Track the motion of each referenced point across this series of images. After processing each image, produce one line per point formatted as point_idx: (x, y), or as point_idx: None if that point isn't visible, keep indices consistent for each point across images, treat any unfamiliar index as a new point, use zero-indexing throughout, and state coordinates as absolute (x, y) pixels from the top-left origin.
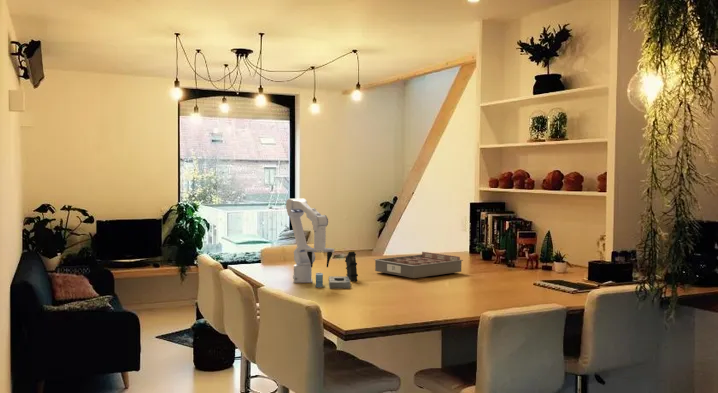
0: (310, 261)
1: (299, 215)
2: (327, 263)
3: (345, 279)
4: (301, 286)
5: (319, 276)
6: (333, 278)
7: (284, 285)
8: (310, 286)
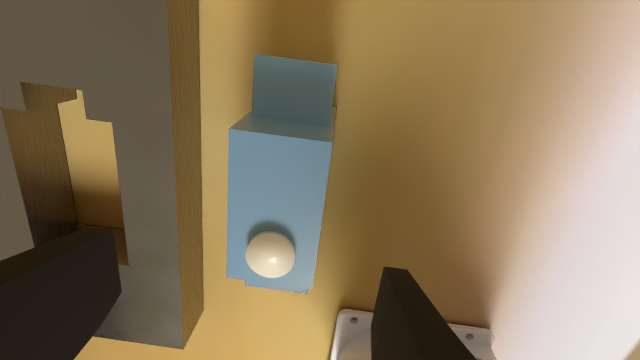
0: (468, 357)
1: None
2: (32, 261)
3: (2, 172)
4: (469, 165)
5: (282, 128)
6: (134, 247)
7: (613, 236)
8: (382, 152)
